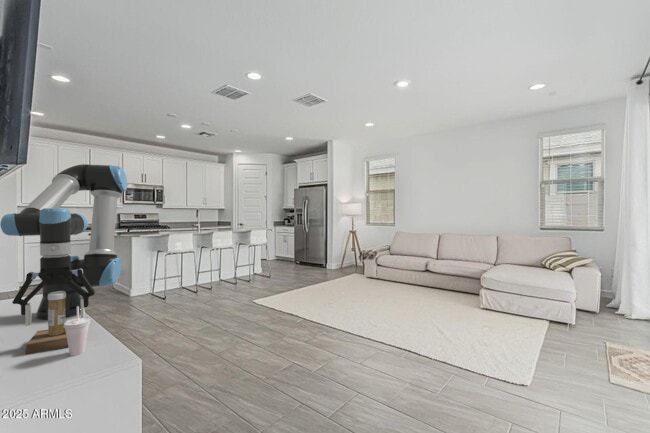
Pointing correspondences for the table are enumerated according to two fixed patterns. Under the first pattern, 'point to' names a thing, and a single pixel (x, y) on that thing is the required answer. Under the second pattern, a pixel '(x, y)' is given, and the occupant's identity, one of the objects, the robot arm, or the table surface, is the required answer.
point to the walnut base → (46, 342)
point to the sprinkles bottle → (56, 313)
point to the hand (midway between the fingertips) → (56, 320)
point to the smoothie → (77, 334)
